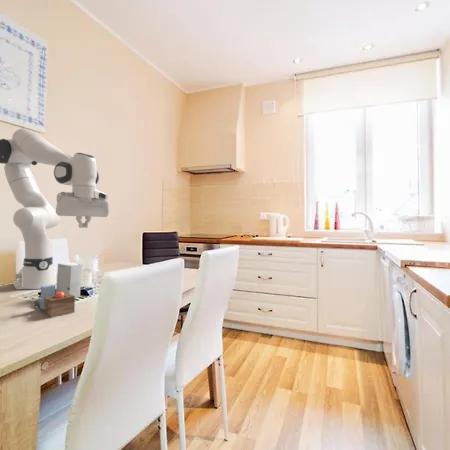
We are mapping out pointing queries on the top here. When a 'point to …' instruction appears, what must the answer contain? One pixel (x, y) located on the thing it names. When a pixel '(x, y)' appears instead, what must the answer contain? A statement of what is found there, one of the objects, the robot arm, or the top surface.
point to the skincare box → (69, 278)
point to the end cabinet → (59, 305)
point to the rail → (37, 303)
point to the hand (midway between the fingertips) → (83, 227)
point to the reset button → (59, 295)
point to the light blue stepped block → (46, 293)
